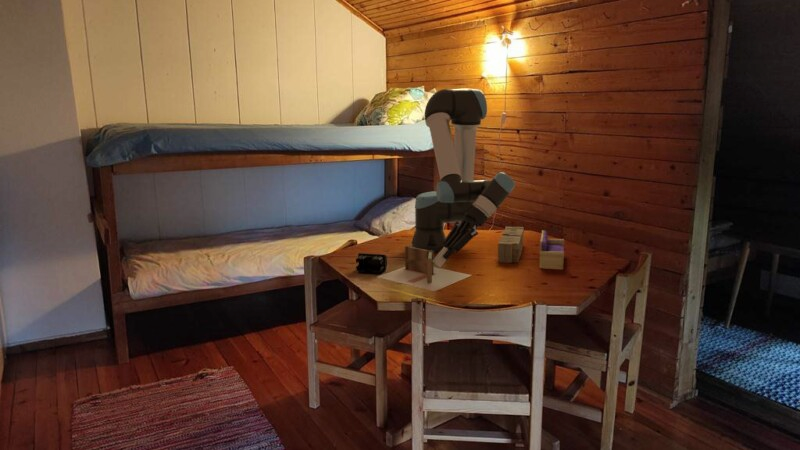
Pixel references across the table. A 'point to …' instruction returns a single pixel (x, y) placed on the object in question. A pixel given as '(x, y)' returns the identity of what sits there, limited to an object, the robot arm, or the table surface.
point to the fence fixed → (417, 259)
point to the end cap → (371, 263)
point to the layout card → (425, 278)
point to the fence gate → (429, 268)
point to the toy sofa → (551, 252)
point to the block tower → (510, 244)
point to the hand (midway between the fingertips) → (436, 264)
